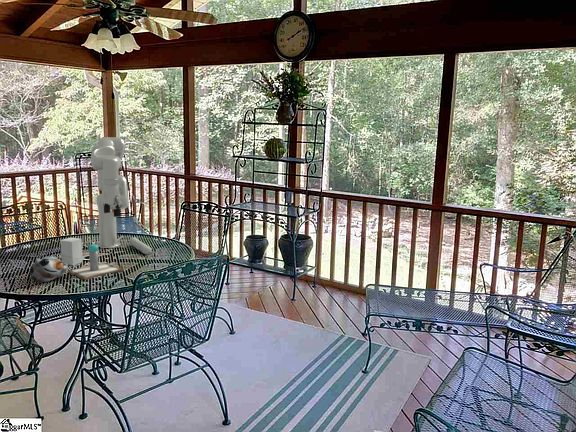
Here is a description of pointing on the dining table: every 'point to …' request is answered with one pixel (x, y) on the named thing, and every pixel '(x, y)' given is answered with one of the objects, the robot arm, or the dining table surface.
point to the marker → (93, 257)
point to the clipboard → (103, 270)
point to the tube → (140, 246)
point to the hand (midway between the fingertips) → (111, 214)
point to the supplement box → (71, 251)
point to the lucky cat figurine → (47, 269)
